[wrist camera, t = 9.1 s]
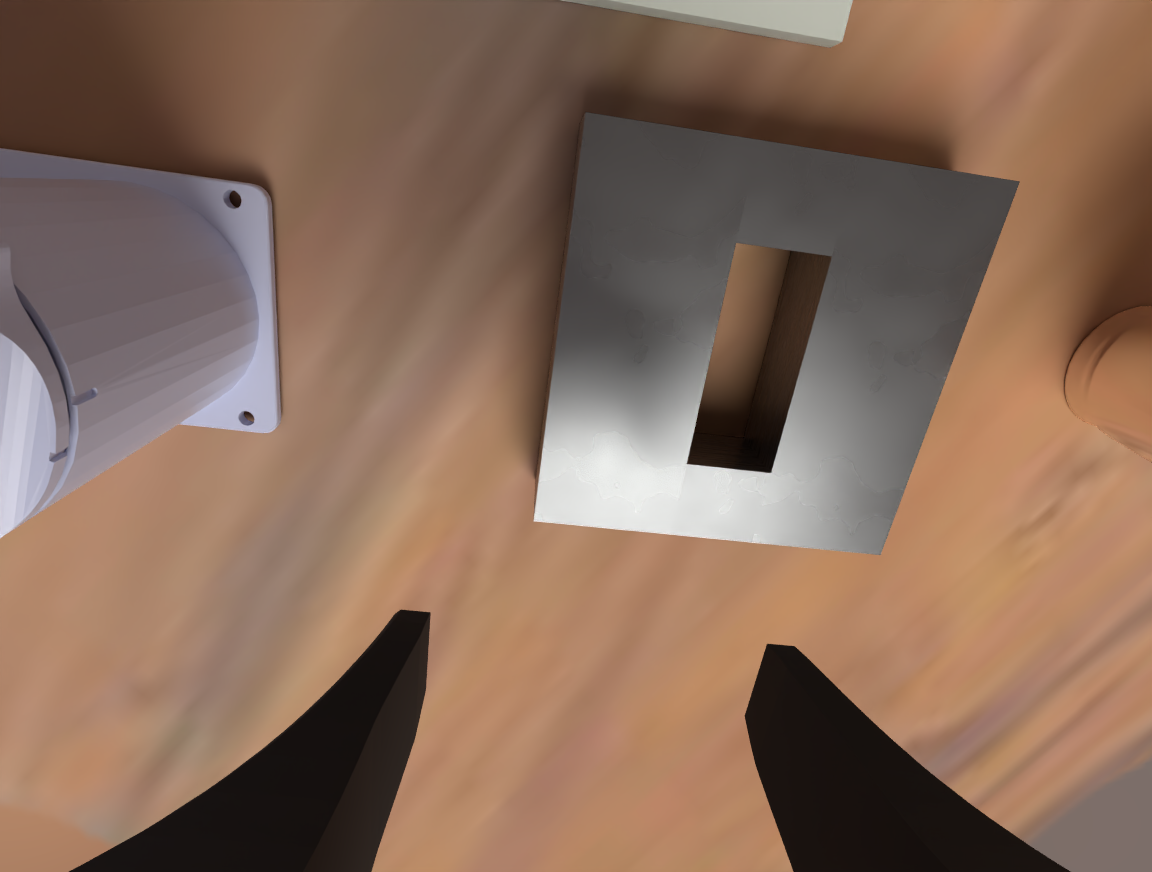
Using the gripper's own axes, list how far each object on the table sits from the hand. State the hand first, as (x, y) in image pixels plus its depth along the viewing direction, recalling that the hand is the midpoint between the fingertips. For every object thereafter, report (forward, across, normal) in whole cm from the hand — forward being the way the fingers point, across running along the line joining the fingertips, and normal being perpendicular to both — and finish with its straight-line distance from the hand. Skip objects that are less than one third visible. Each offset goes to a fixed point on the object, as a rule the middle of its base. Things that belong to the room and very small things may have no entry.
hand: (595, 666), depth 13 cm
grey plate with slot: (+10, -4, -5) cm, 13 cm away
